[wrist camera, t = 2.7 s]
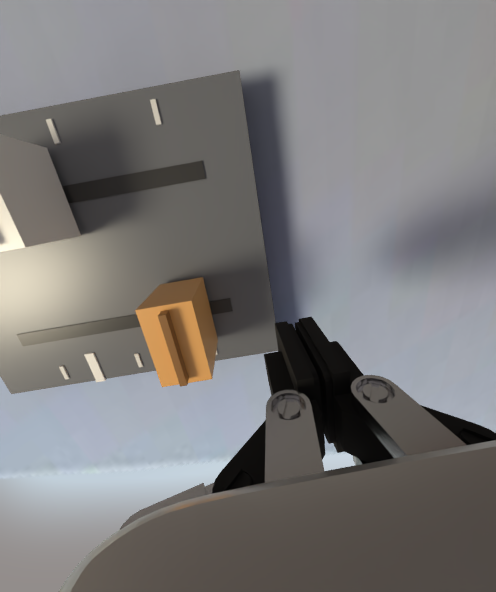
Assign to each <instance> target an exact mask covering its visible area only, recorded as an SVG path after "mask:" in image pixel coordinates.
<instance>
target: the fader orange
mask: <svg viewBox="0 0 496 592" xmlns="http://www.w3.org/2000/svg"><path fill="white" fill-rule="evenodd" d="M135 311H136V314H137V317H138V320H139V323H140V326H141V328H142V331H143V334H144V337H145V340H146V343H147V346H148V348H149V351H150V354H151V357H152V360H153V363H154V366H155V368H156V371H157V374H158V377H159V380H160V383H161V385H162V387H165V386H172V385H178V384H180V386H186V385H187V384H188V383H190V382H196V381H203V380H209V379H212V376H213V369H214V363H215V356H216V350H217V343H218V338H217V334H216V330H215V326H214V322H213V317H212V313H211V309H210V305H209V301H208V296H207V292H206V288H205V284H204V279H203V277H200V278H195V279H189V280H183V281H177V282H171V283H165V284H160V285H159V286H158V287H157V288H156V289H155V290H154V291H153V292H152V293H151V294H150V295H149V296H148V297H147V298H146V300H145V301H144V302H143V303H142V304H141V305H140V306H139V307H138V308H137V309H136V310H135Z"/></svg>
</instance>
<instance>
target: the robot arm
mask: <svg viewBox="0 0 496 592" xmlns="http://www.w3.org/2000/svg"><path fill="white" fill-rule="evenodd" d="M275 331H276V338H277V345H278V352H274V353H268V354H264V358H265V364H266V370H267V375H268V381H269V386H270V390H271V395H272V396H271V397H270V398H269V400H268V401H267V405H266V420H265V422H264V423H263V424H262V425H261V426H260V427H259V428H258V430H257V431H256V432H255V433H254V434H253V435H252V437H251V438H250V439H249V440H248V441H247V442H246V443H245V445H244V446H243V447H242V448H241V449H240V450H239V452H238V453H237V454H236V455H235V456H234V457H233V458H232V460H231V461H230V462H229V463H228V464H227V466H226V467H225V468H224V469H223V470H222V471H221V473H220V474H219V475H218V477H217V478H216V480H215V482H214V483H212V484H210V485H208V486H206V487H205V486H204V483H202V484H200V485H197V486H195V487H193V488H191V489H188V490H186V491H184V492H182V493H179V494H177V495H174V496H172V497H170V498H167V499H165V500H163V501H161V502H158V503H156V504H154V505H151V506H149V507H147V508H144V509H142V510H140V511H138V512H137V513H135V514H134V515H132V516H131V517H130V518H129V519H128V520H127V521H126V522H125V523H124V524H123V525H122V527H121V528H120V530H119V531H118V532H116V533H114V534H113V535H111V536H110V537H109V538H107V539H106V540H105V541H103V542H102V543H101V544H100V545H98V546H97V547H96V548H95V549H94V550H92V551H91V552H90V553H89V554H88V555H87V556H86V557H85V558H84V559H83V560H82V561H81V562H80V563H79V564H78V565H77V567H76V568H75V569H74V570H73V572H72V573H71V574H70V576H69V577H68V578H67V580H66V581H65V583H64V584H63V586H62V587H61V589H60V590H59V592H496V433H494V432H493V431H491V430H489V429H487V428H485V427H482V426H480V425H477V424H474V423H471V422H468V421H466V420H463V419H460V418H457V417H454V416H451V415H448V414H445V413H442V412H439V411H436V410H433V409H430V408H427V407H424V406H421V405H419V404H418V403H417V402H416V401H415V400H413V399H412V398H411V397H410V396H409V395H407V394H406V393H405V392H404V391H403V390H402V389H400V388H399V387H398V386H397V385H396V384H394V383H393V382H391V381H390V380H388V379H386V378H383V377H380V376H375V375H365V376H364V375H363V374H362V373H361V371H360V370H359V369H358V368H357V366H356V365H355V364H354V362H353V361H352V360H351V358H350V357H349V356H348V355H347V353H346V352H345V351H344V349H343V348H342V347H341V346H340V344H339V343H338V342H337V341H334V342H329V341H328V339H327V338H326V336H325V335H324V334H323V332H322V331H321V329H320V328H319V327H318V325H317V324H316V322H315V321H314V320H313V318H312V317H307V318H302V319H299V322H297V323H295V328H294V327H293V325H292V324H288V323H287V321H285V322H280V323H275ZM324 434H325V437H326V439H327V441H328V443H334V446H335V448H336V450H337V453H338V452H344V451H345V452H347V453H349V454H351V455H353V459H354V462H355V464H356V466H351V467H345V468H340V469H335V470H329V471H324V467H323V462H322V459H323V457H324V455H325V445H324V444H325V440H324Z"/></svg>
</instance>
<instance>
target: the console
mask: <svg viewBox="0 0 496 592" xmlns="http://www.w3.org/2000/svg"><path fill="white" fill-rule="evenodd" d="M0 134H1V135H4V136H8V137H11V138H15V139H18V140H22V141H25V142H29V143H32V144H36V145H39V146H42V147H46V148H47V149H48V152H49V155H50V157H51V160H52V162H53V165H54V167H55V170H56V173H57V175H58V178H59V180H60V183H61V185H62V188H63V191H64V193H65V196H66V198H67V201H68V204H69V206H70V209H71V211H72V214H73V216H74V219H75V222H76V224H77V227H78V229H79V232H80V234H81V236H78V237H74V238H69V239H64V240H59V241H54V242H50V243H45V244H40V245H35V246H30V247H25V248H20V249H14V250H8V251H3V252H0V376H1V378H2V380H3V381H4V383H5V384H6V386H7V388H8V389H9V391H10V393H11V394H15V393H21V392H27V391H33V390H39V389H45V388H51V387H58V386H64V385H70V384H76V383H82V382H88V381H94V380H96V382H100V381H105V380H106V379H107V378H113V377H119V376H125V375H131V374H137V373H143V372H149V371H156V368H155V366H154V363H153V360H152V357H151V354H150V351H149V348H148V346H147V343H146V340H145V337H144V334H143V331H142V328H141V326H140V323H139V320H138V317H137V314H136V311H135V310H136V309H137V308H138V307H139V306H140V305H141V304H142V303H143V302H144V301H145V300H146V298H147V297H148V296H149V295H150V294H151V293H152V292H153V291H154V290H155V289H156V288H157V287H158V286H159V285H160V284H165V283H171V282H177V281H183V280H189V279H195V278H200V277H203V279H204V284H205V288H206V292H207V296H208V301H209V305H210V309H211V313H212V317H213V322H214V326H215V330H216V334H217V338H218V343H217V350H216V356H215V361H217V360H223V359H229V358H235V357H241V356H247V355H254V354H260V353H266V352H272V351H278V345H277V338H276V331H275V316H274V309H273V302H272V295H271V288H270V281H269V274H268V267H267V260H266V253H265V246H264V239H263V232H262V225H261V218H260V211H259V204H258V197H257V190H256V183H255V176H254V169H253V162H252V155H251V148H250V142H249V135H248V128H247V121H246V114H245V107H244V100H243V93H242V86H241V79H240V72H239V70H237V71H232V72H227V73H222V74H217V75H211V76H206V77H201V78H196V79H190V80H185V81H180V82H175V83H169V84H164V85H159V86H154V87H149V88H143V89H138V90H133V91H128V92H122V93H117V94H112V95H107V96H101V97H96V98H91V99H86V100H81V101H75V102H70V103H65V104H60V105H54V106H49V107H44V108H39V109H33V110H28V111H23V112H18V113H13V114H7V115H2V116H0Z"/></svg>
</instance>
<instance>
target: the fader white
mask: <svg viewBox="0 0 496 592" xmlns="http://www.w3.org/2000/svg"><path fill="white" fill-rule="evenodd" d="M78 236H81V234H80V232H79V229H78V227H77V224H76V222H75V219H74V216H73V214H72V211H71V209H70V206H69V204H68V201H67V198H66V196H65V193H64V191H63V188H62V185H61V183H60V180H59V178H58V175H57V173H56V170H55V167H54V165H53V162H52V160H51V157H50V155H49V152H48V149H47V148H46V147H42V146H39V145H36V144H32V143H29V142H25V141H22V140H18V139H15V138H11V137H8V136H4V135H1V134H0V252H3V251H8V250H14V249H20V248H25V247H30V246H35V245H40V244H45V243H50V242H54V241H59V240H64V239H69V238H74V237H78Z"/></svg>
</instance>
